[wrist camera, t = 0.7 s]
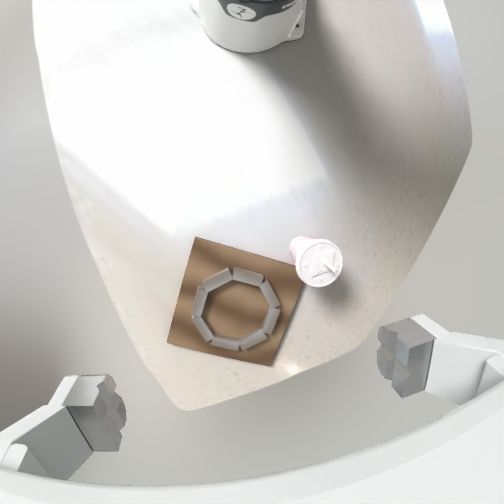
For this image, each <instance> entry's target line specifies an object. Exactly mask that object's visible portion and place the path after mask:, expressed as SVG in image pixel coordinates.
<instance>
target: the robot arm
mask: <svg viewBox="0 0 504 504" xmlns="http://www.w3.org/2000/svg"><path fill="white" fill-rule="evenodd" d="M306 4H307V0H190V2H189V6H190V7H191V9H192V10H193V11H194V12H195V13H196V14H197V15H198V16H199V19H200V22H201V25H202V28H203V30H204V32H205V33H206V34H207V36H208V37H209V38H210V39H211V40H212V41H214V42H215V43H216V44H218V45H220V46H222V47H224V48H226V49H229V50H232V51H236V52H243V53H254V52H261V51H265V50H268V49H270V48H273V47H274V46H276V45H278V44H280V43H281V42H284V41H290V40H297V39H300V38H301V37H302V35H303V33H304V25H305V14H306ZM296 25H297V26H298V28H297V27H295V26H296ZM378 340H379V341H380V342H381V346H380V348H379V349H378V351H377V363H378V368H379V370H380V372H381V374H382V375H383V376H384V378H386V379H389V380H392V387H393V388H394V390H395V391H396V392H397V393H398V394H399V395H400V397H401V398H404V397H407V396H410V395H412V394H415V393H418V392H420V391H423V390H425V391H427V392H429V393H432V394H434V395H437V396H439V397H441V398H444V399H446V400H449V401H451V402H453V403H456V404H459V405H461V406H459V407H457V408H455V409H453V410H452V411H450V412H448V413H446V414H444V415H442V416H440V417H438V418H436V419H434V420H432V421H430V422H428V423H425V424H423V425H421V426H419V427H417V428H415V429H412V430H410V431H408V432H405V433H403V434H400V435H398V436H396V437H393V438H391V439H388V440H386V441H383V442H380V443H378V444H375V445H372V446H369V447H367V448H364V449H361V450H358V451H355V452H352V453H349V454H346V455H343V456H339V457H336V458H332V459H329V460H325V461H322V462H318V463H314V464H311V465H307V466H303V467H299V468H295V469H290V470H286V471H281V472H276V473H272V474H266V475H260V476H255V477H249V478H242V479H235V480H228V481H220V482H210V483H199V484H185V485H162V486H132V485H108V484H95V483H85V482H75V481H68V479H69V478H70V477H71V476H72V474H73V473H74V472H75V471H76V470H77V469H78V468H79V467H80V466H81V465H82V464H83V463H84V462H85V461H86V460H87V459H88V458H89V457H90V456H91V455H92V454H93V451H101V452H102V451H103V452H109V451H118V450H119V446H120V442H121V438H122V435H121V433H120V431H119V430H120V429H122V427H124V426H125V422H126V409H125V405H124V402H123V400H122V398H121V397H120V396H119V395H118V394H117V393H115V392H114V391H115V388H116V384H115V382H114V380H113V378H112V376H110V375H109V374H102V375H73V376H72V375H70V376H66V377H64V379H63V381H62V382H61V384H60V385H59V387H58V389H57V390H56V392H55V394H54V395H53V397H52V399H51V400H50V402H49V404H48V406H47V405H44V406H42V407H40V408H39V409H37V410H36V411H34V412H33V413H31V414H29V415H27V416H26V417H24V418H23V419H21V420H19V421H18V422H16V423H15V424H13V425H11V426H10V427H8V428H6V429H5V430H3V431H2V432H0V504H504V340H500V339H493V338H487V337H481V336H474V335H469V334H463V333H458V332H452V333H449V332H448V331H447V330H445V329H444V328H442V327H441V326H439V325H438V324H437V323H435V322H434V321H432V320H431V319H429V318H428V317H427V316H425V315H424V314H418V315H414V316H412V317H409V318H407V319H404V320H401V321H398V322H394V323H392V324H389V325H385V326H382V327H380V329H379V332H378Z"/></svg>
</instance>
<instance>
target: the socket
mask: <svg viewBox="0 0 504 504" xmlns="http://www.w3.org/2000/svg"><path fill="white" fill-rule="evenodd" d="M302 285H303V281H302V280H301V279H300V277H299V276H298V274H297V271H296V266H294V265H291V264H287V263H284V262H281V261H277V260H274V259H270V258H267V257H263V256H260V255H257V254H253V253H250V252H246V251H243V250H239V249H236V248H233V247H229V246H226V245H222V244H219V243H216V242H212V241H209V240H205V239H202V238H198V237H195V239H194V243H193V246H192V250H191V253H190V257H189V260H188V264H187V267H186V271H185V274H184V278H183V282H182V285H181V289H180V293H179V296H178V300H177V304H176V308H175V312H174V316H173V319H172V323H171V327H170V331H169V335H168V339H167V343H170V344H174V345H177V346H181V347H185V348H189V349H193V350H197V351H201V352H205V353H210V354H214V355H218V356H223V357H227V358H232V359H237V360H242V361H246V362H251V363H256V364H262V365H267V366H270V364H271V362H272V360H273V357H274V355H275V352H276V350H277V348H278V345H279V343H280V340H281V338H282V335H283V333H284V331H285V328H286V326H287V323H288V321H289V318H290V316H291V313H292V311H293V308H294V306H295V303H296V300H297V298H298V295H299V293H300V290H301V287H302Z"/></svg>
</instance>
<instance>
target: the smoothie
mask: <svg viewBox="0 0 504 504" xmlns="http://www.w3.org/2000/svg"><path fill="white" fill-rule="evenodd" d="M289 251H290V253H291V256H292V258H293V260H294V262H295V265H296V271H297V274H298V276H299V277H300V279H301V280H302V281H303V282H305V283H306V284H307V285H309V286H312V287H317V288H318V287H325V286H327V285H329V284H331V283H333V282H334V281H335V280H336V279H337V278H338V276H339V275H340V273H341V271H342V268H343V256H342V253H341V251H340V249H339V248H338V247H337V246H336V245H335V244H334V243H332V242H331V241H329V240H326V239H313V238H309V237H304V236H298V237H296V238H294V239H293V240H292V241H291V243H290V246H289Z"/></svg>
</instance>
